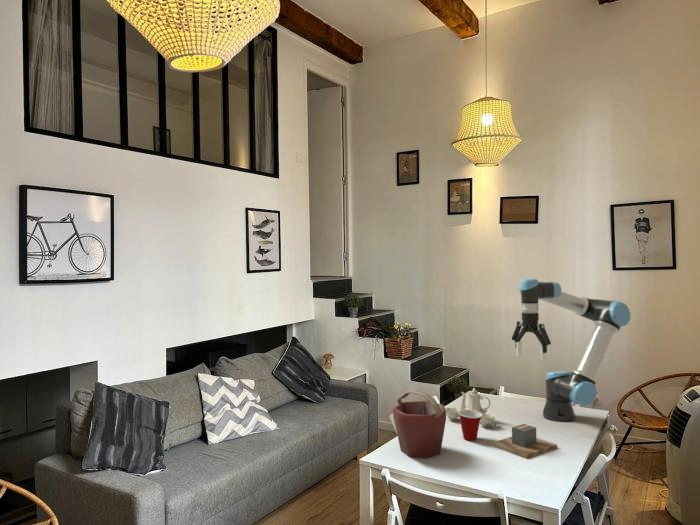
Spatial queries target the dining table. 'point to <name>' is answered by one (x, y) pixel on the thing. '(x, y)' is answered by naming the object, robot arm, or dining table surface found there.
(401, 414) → the bucket
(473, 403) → the chinaware
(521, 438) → the grey box
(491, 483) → the dining table surface
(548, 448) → the hub base
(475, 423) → the plastic cup
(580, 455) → the dining table surface
